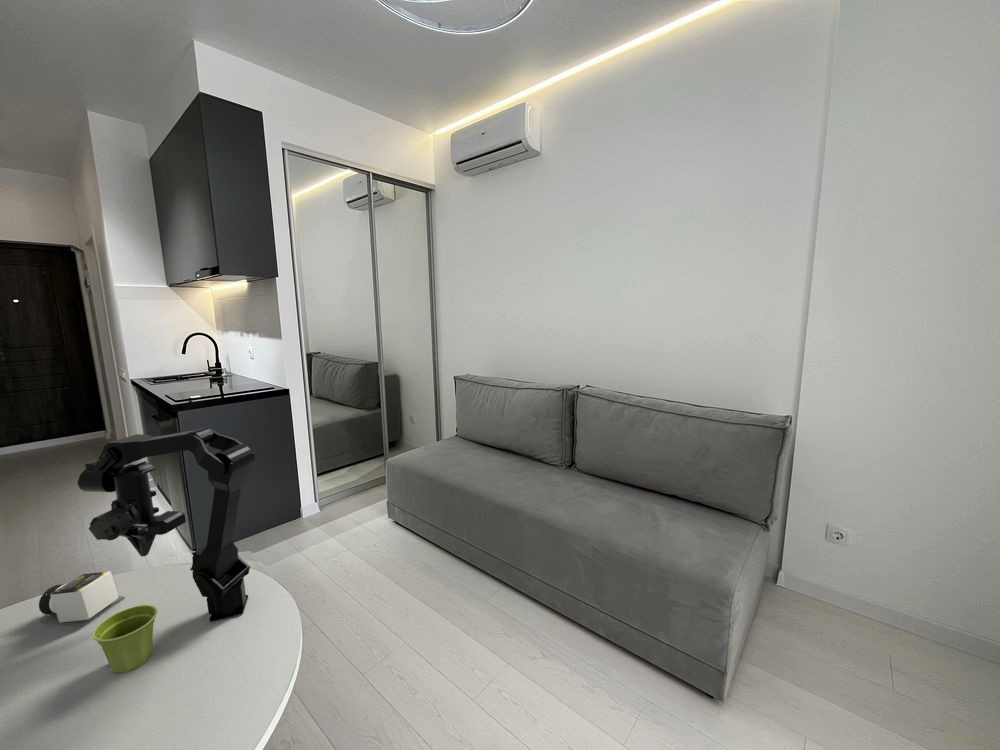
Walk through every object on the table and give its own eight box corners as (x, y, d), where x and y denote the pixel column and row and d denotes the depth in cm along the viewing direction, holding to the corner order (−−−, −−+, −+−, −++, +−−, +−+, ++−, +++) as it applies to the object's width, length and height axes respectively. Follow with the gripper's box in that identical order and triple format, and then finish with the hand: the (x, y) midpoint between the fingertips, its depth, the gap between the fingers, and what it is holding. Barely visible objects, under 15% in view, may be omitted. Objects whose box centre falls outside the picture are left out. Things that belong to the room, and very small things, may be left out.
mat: (124, 598, 99) (124, 596, 99) (82, 626, 90) (81, 624, 90) (86, 594, 101) (86, 592, 101) (41, 621, 92) (40, 619, 92)
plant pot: (160, 634, 88) (154, 597, 86) (166, 660, 81) (159, 621, 80) (99, 660, 81) (92, 621, 80) (100, 691, 75) (92, 649, 73)
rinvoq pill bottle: (79, 590, 89) (28, 596, 90) (88, 620, 90) (38, 625, 91) (111, 570, 96) (63, 575, 97) (119, 597, 97) (72, 602, 98)
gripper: (55, 507, 86) (69, 575, 88) (134, 510, 83) (147, 580, 86) (111, 484, 97) (122, 546, 99) (182, 487, 94) (192, 549, 97)
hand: (144, 555), depth 95 cm, fingers closed
